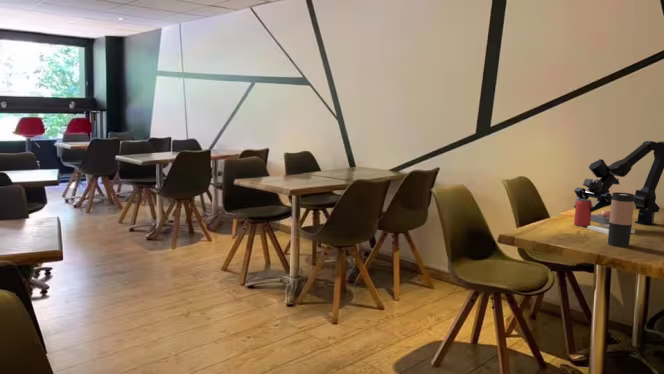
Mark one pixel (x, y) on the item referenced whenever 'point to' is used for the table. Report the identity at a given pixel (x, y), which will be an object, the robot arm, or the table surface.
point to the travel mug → (621, 219)
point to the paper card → (602, 228)
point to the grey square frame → (600, 219)
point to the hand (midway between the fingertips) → (582, 209)
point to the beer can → (583, 212)
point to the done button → (605, 213)
